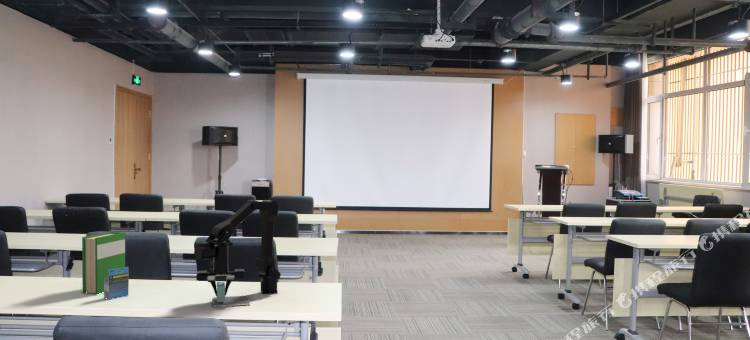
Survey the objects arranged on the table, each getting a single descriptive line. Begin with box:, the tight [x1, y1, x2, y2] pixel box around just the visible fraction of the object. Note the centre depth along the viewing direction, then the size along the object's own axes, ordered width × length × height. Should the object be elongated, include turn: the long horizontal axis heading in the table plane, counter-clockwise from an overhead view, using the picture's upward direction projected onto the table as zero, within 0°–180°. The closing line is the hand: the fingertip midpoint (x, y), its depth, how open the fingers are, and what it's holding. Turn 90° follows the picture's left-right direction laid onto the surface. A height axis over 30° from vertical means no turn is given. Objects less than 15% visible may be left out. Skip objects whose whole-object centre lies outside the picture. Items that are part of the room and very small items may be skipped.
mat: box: [212, 294, 251, 308], centre depth 239 cm, size 14×15×1 cm
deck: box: [216, 281, 226, 302], centre depth 238 cm, size 3×9×6 cm, turn 15°
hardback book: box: [81, 231, 126, 295], centre depth 257 cm, size 18×7×24 cm, turn 165°
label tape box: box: [103, 266, 130, 300], centre depth 245 cm, size 9×4×12 cm, turn 145°
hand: (220, 295), depth 238 cm, fingers closed on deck, 3 cm apart
